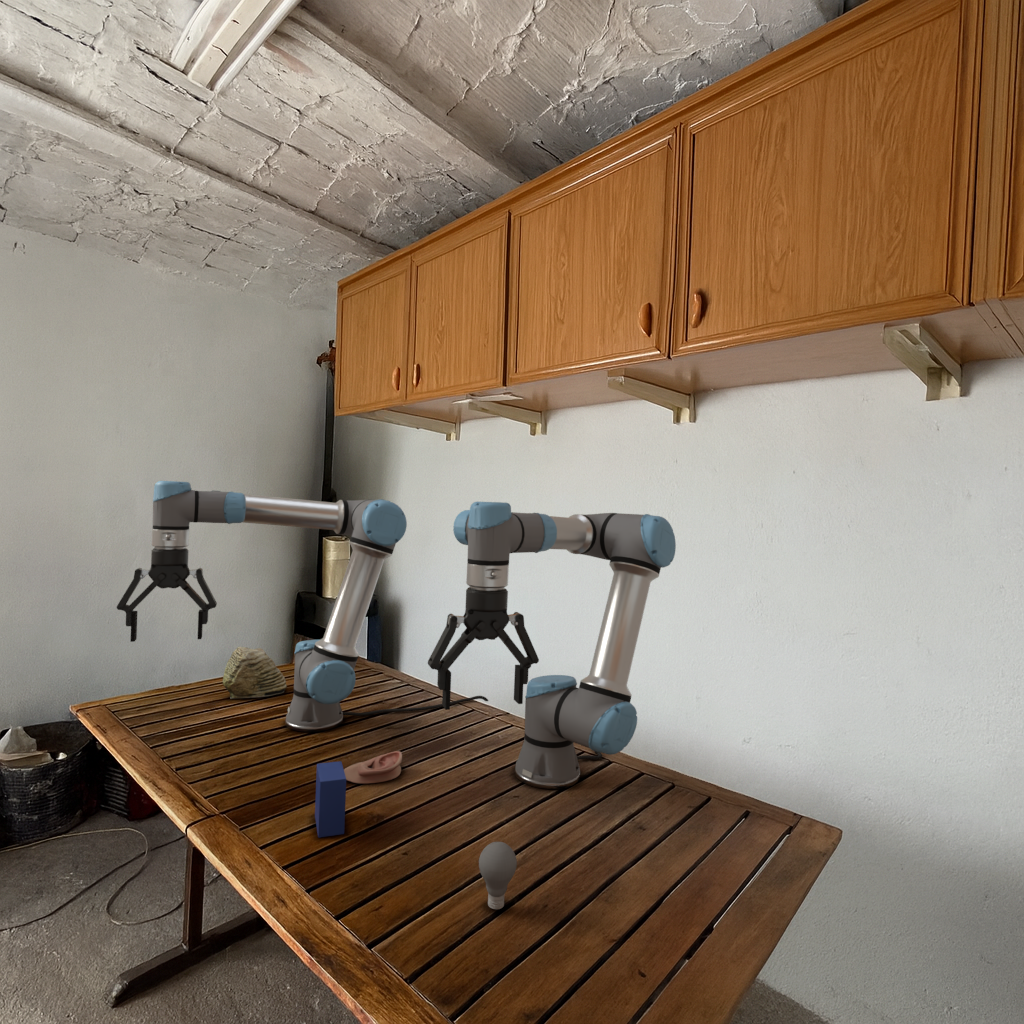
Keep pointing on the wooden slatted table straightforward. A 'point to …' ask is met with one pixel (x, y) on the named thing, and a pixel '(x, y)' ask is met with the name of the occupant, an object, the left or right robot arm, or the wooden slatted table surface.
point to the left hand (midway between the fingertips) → (167, 639)
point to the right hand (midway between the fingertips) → (482, 704)
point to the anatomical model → (375, 769)
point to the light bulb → (497, 871)
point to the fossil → (252, 674)
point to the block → (330, 799)
